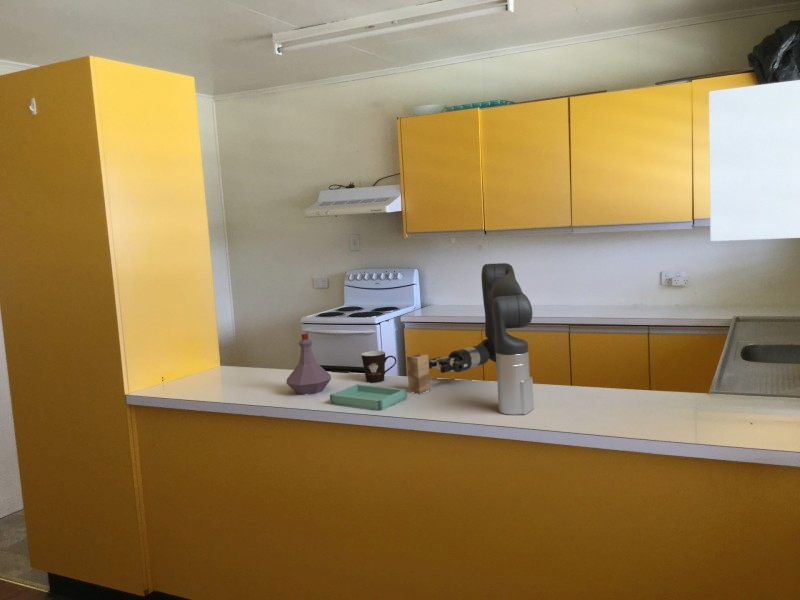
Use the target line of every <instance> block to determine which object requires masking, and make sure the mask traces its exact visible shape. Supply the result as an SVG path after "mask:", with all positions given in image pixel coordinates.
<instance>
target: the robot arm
mask: <svg viewBox="0 0 800 600" xmlns="http://www.w3.org/2000/svg"><path fill="white" fill-rule="evenodd" d="M480 275H481V290H482V302H483V308H484V318H485V319H484V320H485V321H484V333H485V334H484V335H485V337H486V338H485V339H483V340H482V341H481V342H479V343H478V344H477V345H474V346H470V347H464V348H459V349H457V350H453V351H451V352H450V353H449V355H448V356H444V357H443V358H442V357H440V356H437V357H433V358H428V360H429V370H430V369H437V370H440V373H441V374H445V373H448V372H454V373H461V372H464V371H468V370H471V369H473V368H475V367H479V366H481V365H484V364H486V363H488V362H489V360H490V361H492V362H494V363H495V367H496V382H497V384H496V385H497V399H498V400H497V401H498V404H497V405H498V411H499V413H501V414H504V415H513V416H515V415H527V414H528V413H530V412H531V411H533V410H534V409H535V406H534V404H535V403H534V385H533V383H534V382H533V377H532V376H530V359H529V356H530V355H529V343H528V341H526V340H525V339H522V338H519V337H515V336H513V335H511V334H509V333H508V332H507V331H506V330H508V329H521V328H527V327H528V326H529V325H530V324H531V322H532V319H533V307H532V304H531V301H530V299H529V297H528V296H527V295H526V294H525V293H524V292H523V290H522V288H521V286H520V283H519V282H518V280H517V279H516V274H515V270H514V268H513V266H512V265H511V264H509V263H505V262H503V263H501V262H500V263H486V264H483V266H482V268H481V274H480Z"/></svg>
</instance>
